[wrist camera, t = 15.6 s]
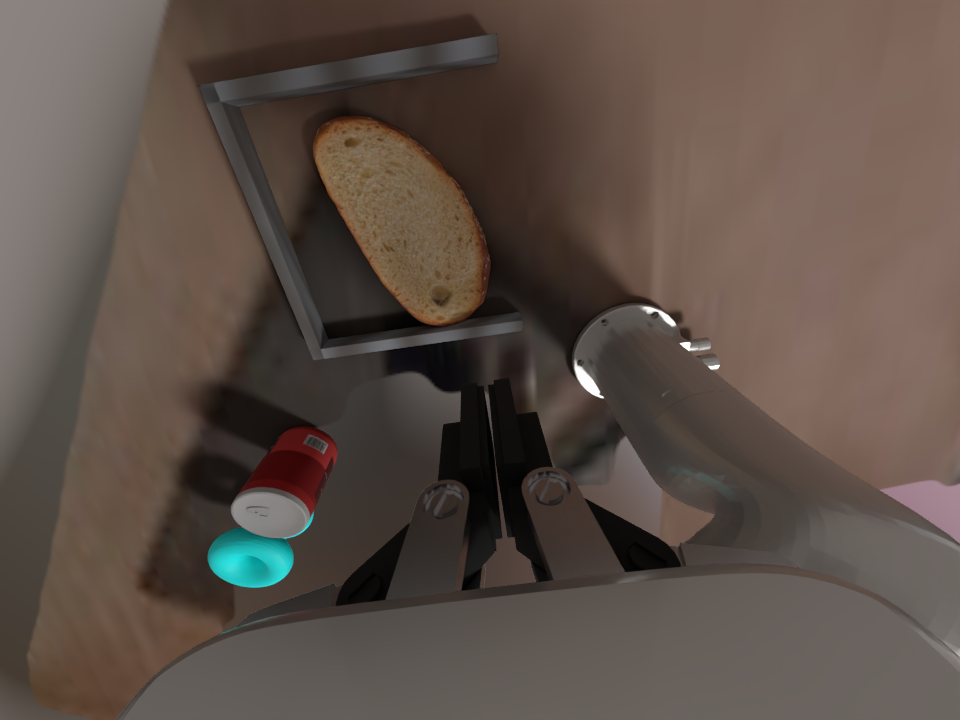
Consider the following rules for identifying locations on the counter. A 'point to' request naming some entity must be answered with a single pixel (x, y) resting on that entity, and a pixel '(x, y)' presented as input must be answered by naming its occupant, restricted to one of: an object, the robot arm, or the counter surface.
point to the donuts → (251, 558)
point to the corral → (260, 199)
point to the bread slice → (405, 217)
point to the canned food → (286, 484)
